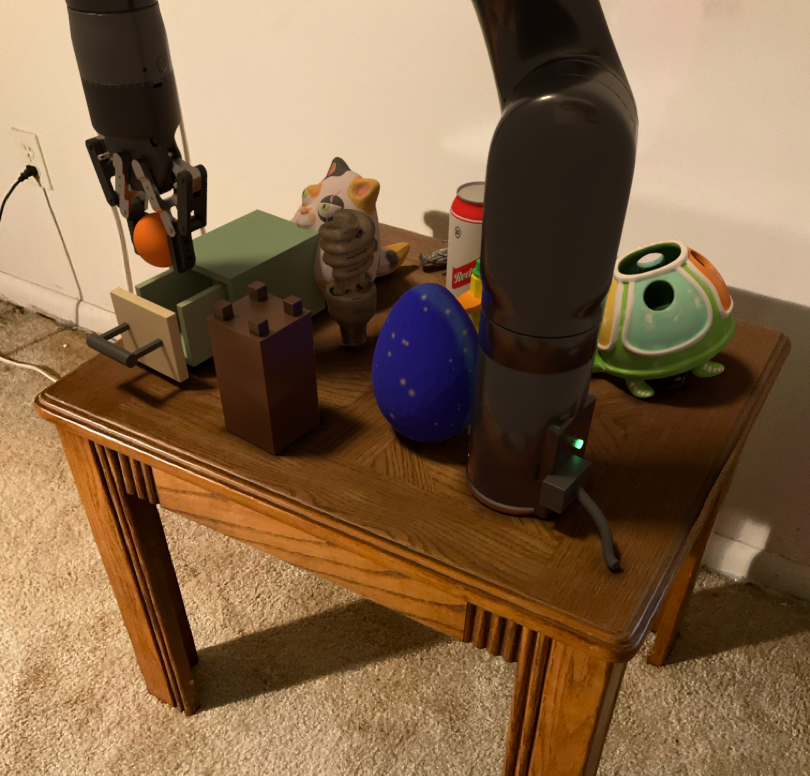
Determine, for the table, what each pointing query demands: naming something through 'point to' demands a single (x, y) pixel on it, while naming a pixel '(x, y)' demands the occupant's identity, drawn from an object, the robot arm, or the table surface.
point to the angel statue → (435, 257)
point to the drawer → (163, 322)
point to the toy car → (670, 381)
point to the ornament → (426, 365)
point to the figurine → (346, 193)
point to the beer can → (464, 236)
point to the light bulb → (350, 273)
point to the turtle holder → (664, 317)
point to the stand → (265, 367)
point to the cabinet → (262, 258)
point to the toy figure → (473, 296)
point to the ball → (152, 240)
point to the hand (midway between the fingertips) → (165, 260)
